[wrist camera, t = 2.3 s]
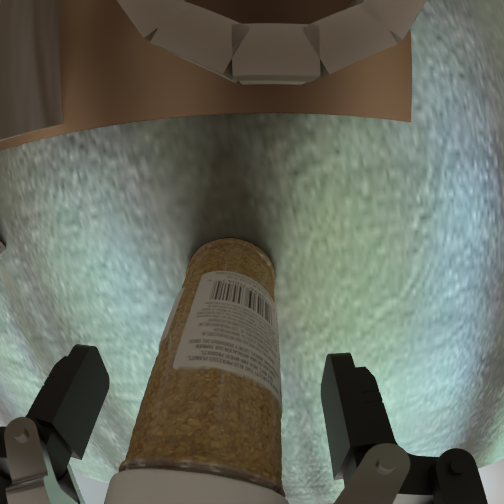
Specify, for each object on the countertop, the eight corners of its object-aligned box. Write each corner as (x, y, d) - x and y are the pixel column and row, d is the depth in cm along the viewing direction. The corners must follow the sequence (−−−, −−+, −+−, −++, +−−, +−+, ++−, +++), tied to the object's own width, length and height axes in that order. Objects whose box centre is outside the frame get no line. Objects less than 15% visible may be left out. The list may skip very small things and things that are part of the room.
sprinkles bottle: (171, 274, 17) (70, 532, 5) (230, 215, 15) (157, 540, 3) (234, 324, 18) (207, 573, 6) (296, 276, 17) (331, 564, 4)
